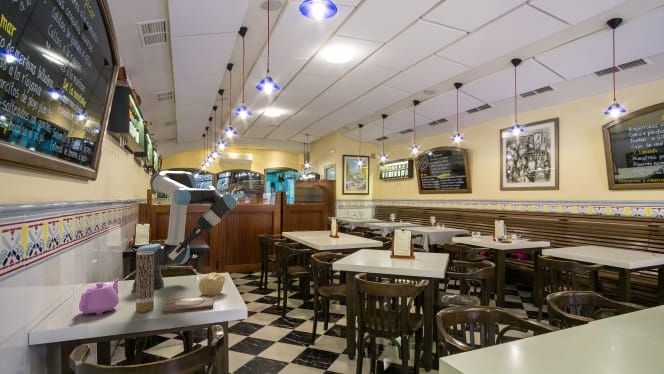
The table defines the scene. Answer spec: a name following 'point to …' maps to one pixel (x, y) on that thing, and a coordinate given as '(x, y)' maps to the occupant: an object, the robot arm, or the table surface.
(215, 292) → the sculpture
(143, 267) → the paper tube
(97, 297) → the teapot
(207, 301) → the walnut board
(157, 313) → the table surface
